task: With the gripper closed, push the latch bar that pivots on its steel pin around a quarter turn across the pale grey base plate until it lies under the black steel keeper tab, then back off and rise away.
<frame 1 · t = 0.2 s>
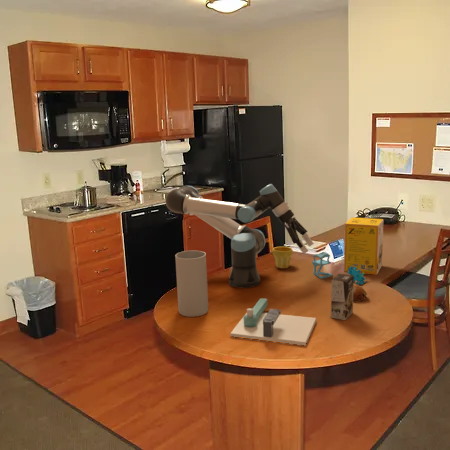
hand: (308, 248, 247), 15 cm above the table, tool tilted 35°, fingers open, 13 cm apart
bread roll: (355, 298, 224), on the table
latch bar: (256, 308, 203), point 5 cm above the table, hinge at 90.0°
chair: (321, 275, 255), on the table
base plate: (274, 329, 195), on the table
cylinder vase: (193, 312, 215), on the table
packaging box: (363, 268, 263), on the table
coffee box: (342, 315, 206), on the table
gear: (356, 283, 243), on the table
keeper: (271, 322, 190), on the base plate, point 4 cm above the table
plant pot: (282, 266, 271), on the table
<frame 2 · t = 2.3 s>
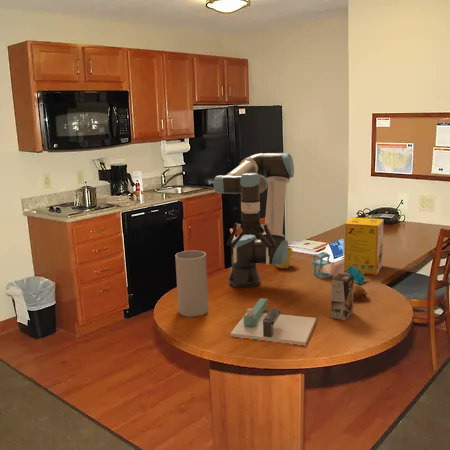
hand: (251, 263, 209), 21 cm above the table, tool pointing down, fingers open, 13 cm apart
nothing on the table moved.
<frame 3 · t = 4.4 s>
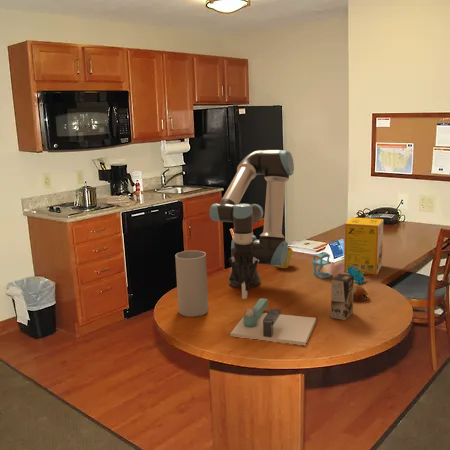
hand: (244, 297, 211), 6 cm above the table, tool pointing down, fingers closed
nothing on the table moved.
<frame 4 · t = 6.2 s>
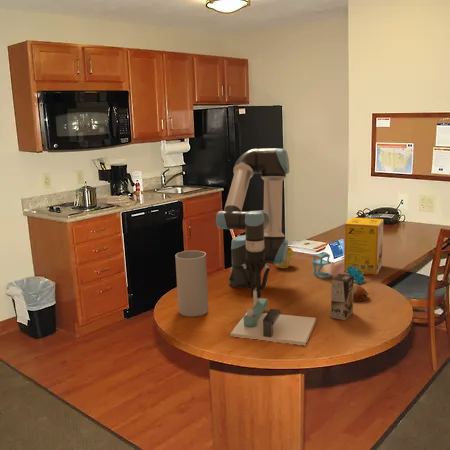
hand: (256, 304, 211), 3 cm above the table, tool pointing down, fingers closed
latch bar: (256, 308, 203), point 5 cm above the table, hinge at 90.0°, touching gripper
everything else where it was.
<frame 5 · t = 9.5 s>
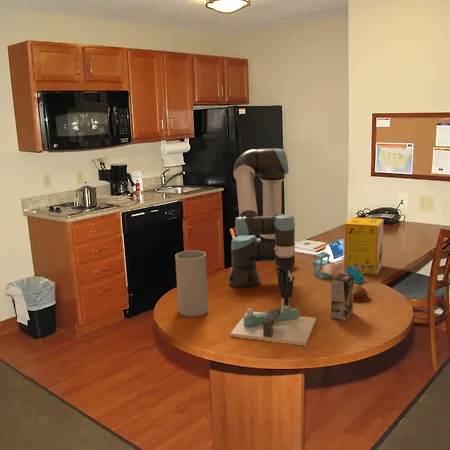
hand: (285, 312, 202), 3 cm above the table, tool pointing down, fingers closed
latch bar: (271, 313, 198), point 5 cm above the table, hinge at 38.0°, touching gripper
everything else where it was.
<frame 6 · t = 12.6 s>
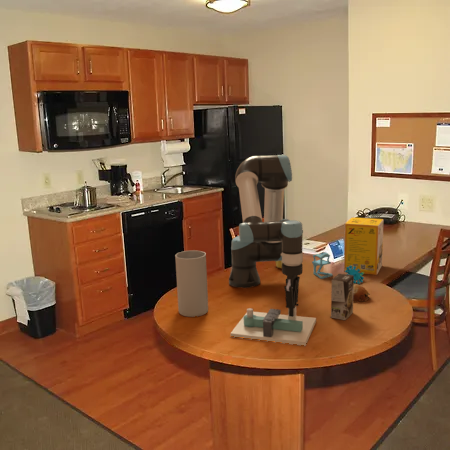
hand: (292, 322, 192), 3 cm above the table, tool pointing down, fingers closed
latch bar: (272, 319, 192), point 5 cm above the table, hinge at -1.1°, touching gripper
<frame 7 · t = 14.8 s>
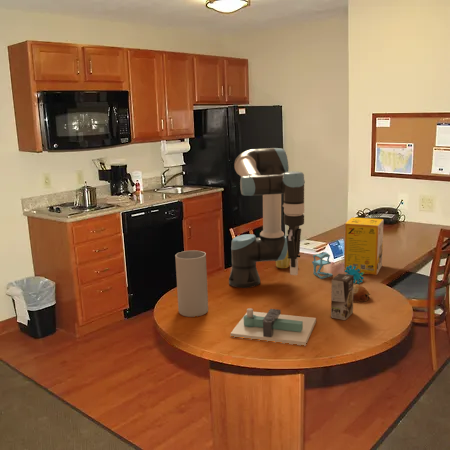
hand: (294, 274, 194), 20 cm above the table, tool pointing down, fingers closed
latch bar: (272, 319, 192), point 5 cm above the table, hinge at -1.1°
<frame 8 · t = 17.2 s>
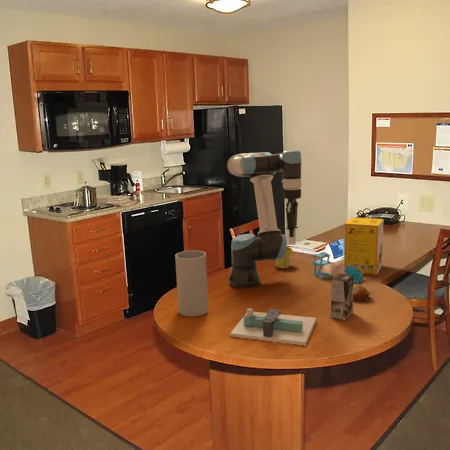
hand: (292, 243, 214), 26 cm above the table, tool pointing down, fingers closed
at the end: latch bar at -1° (first picture: +90°) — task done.
